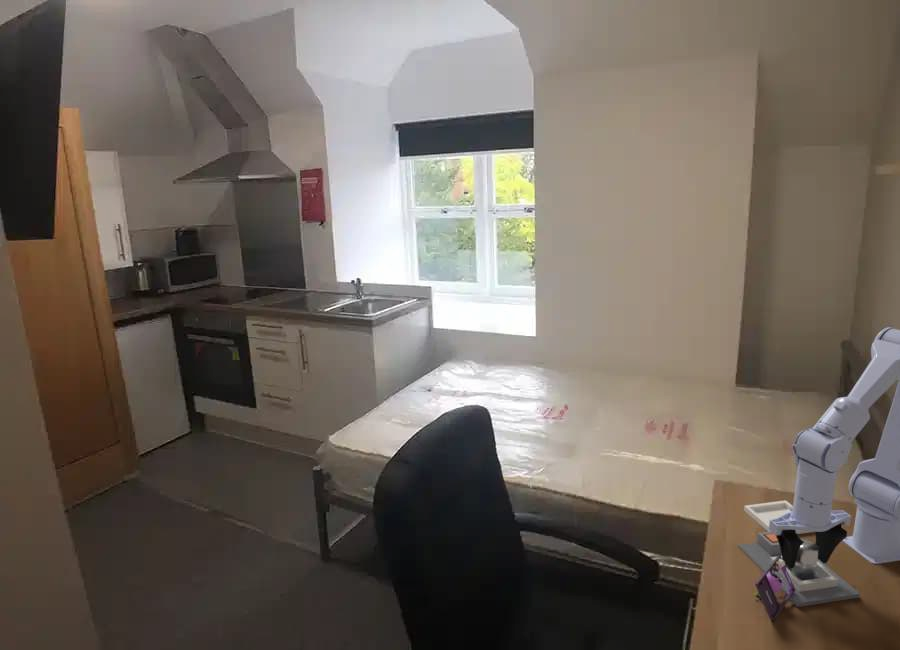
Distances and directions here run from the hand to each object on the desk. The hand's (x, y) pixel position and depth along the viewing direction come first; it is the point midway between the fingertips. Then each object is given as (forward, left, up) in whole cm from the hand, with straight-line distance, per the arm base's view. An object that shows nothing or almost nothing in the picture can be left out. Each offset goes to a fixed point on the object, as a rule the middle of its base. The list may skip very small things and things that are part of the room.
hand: (804, 562), depth 106 cm
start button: (0, -8, -2) cm, 8 cm away
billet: (0, 0, -3) cm, 3 cm away
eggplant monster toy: (+10, +4, -3) cm, 11 cm away
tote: (-8, -16, -3) cm, 19 cm away
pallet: (0, -2, -3) cm, 4 cm away
